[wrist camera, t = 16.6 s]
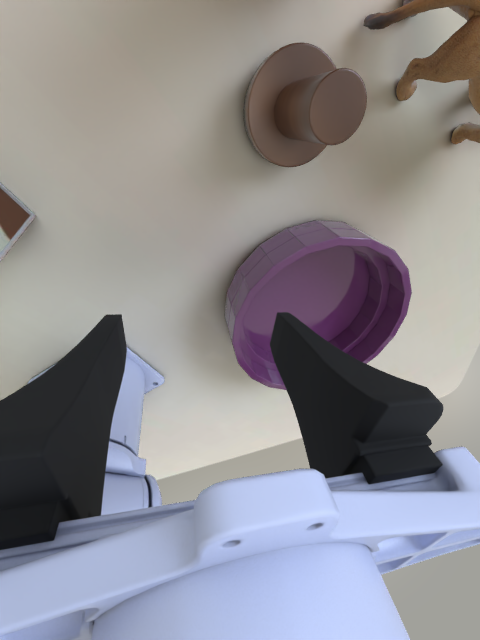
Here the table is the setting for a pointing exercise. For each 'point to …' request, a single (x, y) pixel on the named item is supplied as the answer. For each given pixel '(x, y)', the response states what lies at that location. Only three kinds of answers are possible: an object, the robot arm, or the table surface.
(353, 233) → the bowl
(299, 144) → the brown stamp
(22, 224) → the food container
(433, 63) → the lion figurine
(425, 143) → the table surface
